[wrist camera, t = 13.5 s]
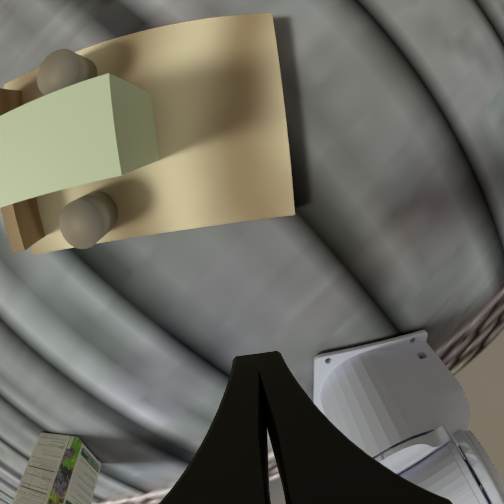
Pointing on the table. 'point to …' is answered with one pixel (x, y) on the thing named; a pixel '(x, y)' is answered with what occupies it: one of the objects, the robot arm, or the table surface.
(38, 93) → the board
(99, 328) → the table surface
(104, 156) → the block
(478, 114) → the table surface
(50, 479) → the printed cardboard box
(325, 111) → the table surface
